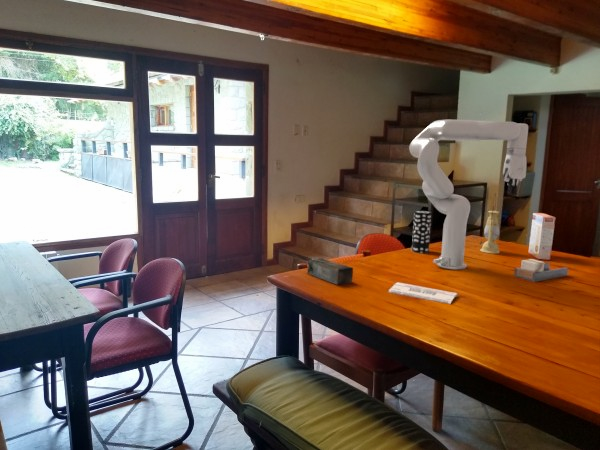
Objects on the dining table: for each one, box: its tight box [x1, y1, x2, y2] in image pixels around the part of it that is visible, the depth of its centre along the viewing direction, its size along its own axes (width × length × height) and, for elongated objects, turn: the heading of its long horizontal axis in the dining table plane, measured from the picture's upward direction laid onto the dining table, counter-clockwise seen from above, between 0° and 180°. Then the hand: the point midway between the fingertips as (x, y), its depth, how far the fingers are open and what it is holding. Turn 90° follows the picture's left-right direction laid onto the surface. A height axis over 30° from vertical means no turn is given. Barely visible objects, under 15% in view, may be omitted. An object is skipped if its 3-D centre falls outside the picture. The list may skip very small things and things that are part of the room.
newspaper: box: [388, 281, 458, 305], centre depth 163 cm, size 23×12×2 cm, turn 59°
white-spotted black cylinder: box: [411, 210, 432, 254], centre depth 228 cm, size 8×8×20 cm
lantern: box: [479, 193, 500, 255], centre depth 230 cm, size 12×10×30 cm
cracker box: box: [527, 212, 556, 261], centre depth 222 cm, size 14×6×21 cm, turn 171°
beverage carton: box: [307, 257, 354, 286], centre depth 179 cm, size 8×19×7 cm, turn 37°
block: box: [520, 258, 545, 273], centre depth 186 cm, size 6×6×6 cm
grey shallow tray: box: [513, 262, 569, 283], centre depth 189 cm, size 22×9×3 cm, turn 119°
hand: (511, 194), depth 201 cm, fingers closed
